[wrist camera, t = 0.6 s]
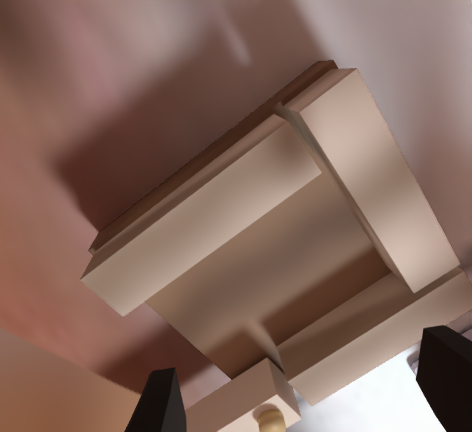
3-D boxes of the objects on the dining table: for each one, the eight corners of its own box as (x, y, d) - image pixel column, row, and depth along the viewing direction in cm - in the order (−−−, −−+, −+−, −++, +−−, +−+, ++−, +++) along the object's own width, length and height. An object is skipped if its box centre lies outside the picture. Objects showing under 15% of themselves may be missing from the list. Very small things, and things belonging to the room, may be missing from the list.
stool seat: (430, 259, 21) (487, 304, 17) (250, 375, 23) (262, 439, 19) (317, 61, 16) (360, 57, 12) (98, 232, 18) (70, 279, 14)
